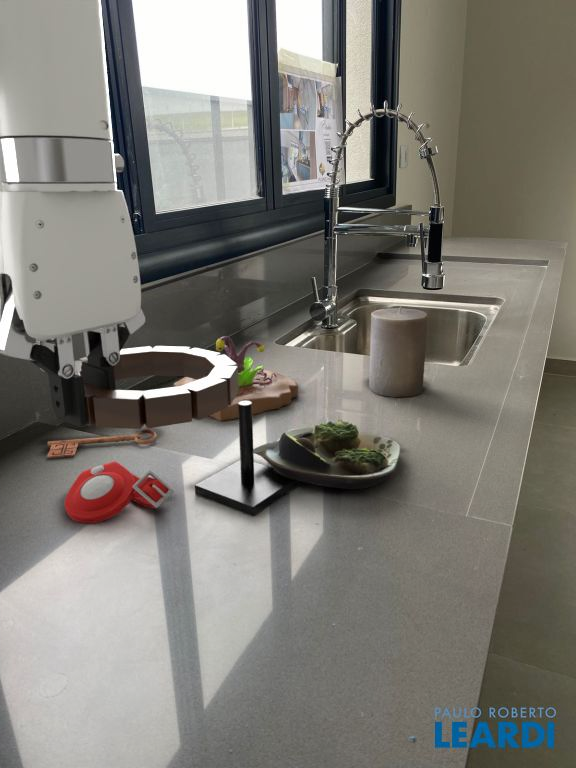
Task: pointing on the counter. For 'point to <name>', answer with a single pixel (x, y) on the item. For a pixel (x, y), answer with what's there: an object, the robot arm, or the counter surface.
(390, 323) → the pillar candle
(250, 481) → the stand
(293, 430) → the salad plate
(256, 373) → the plant
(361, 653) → the counter surface
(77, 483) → the tracker holder
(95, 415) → the ring
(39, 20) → the robot arm
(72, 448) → the key
